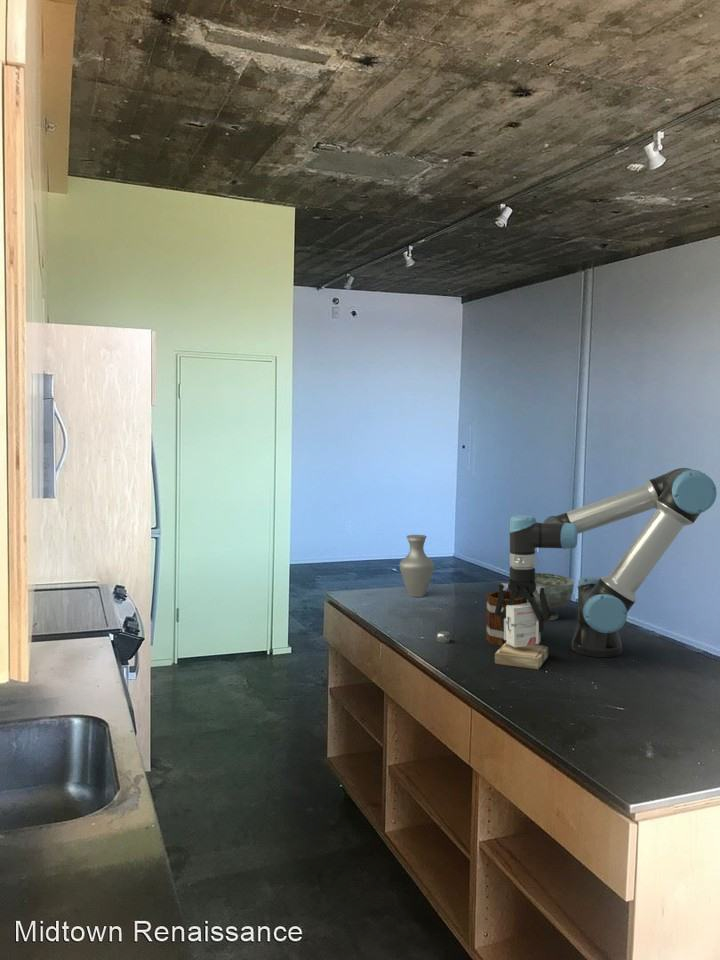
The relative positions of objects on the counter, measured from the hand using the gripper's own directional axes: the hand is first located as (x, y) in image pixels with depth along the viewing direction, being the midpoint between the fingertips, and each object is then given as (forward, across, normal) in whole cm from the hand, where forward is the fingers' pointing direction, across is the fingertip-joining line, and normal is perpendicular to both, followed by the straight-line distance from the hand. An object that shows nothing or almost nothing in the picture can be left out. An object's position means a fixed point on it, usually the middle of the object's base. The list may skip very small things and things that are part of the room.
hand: (522, 640), depth 225 cm
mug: (+6, -10, +21) cm, 24 cm away
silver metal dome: (+6, -28, +8) cm, 30 cm away
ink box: (+1, 0, 0) cm, 1 cm away
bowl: (+6, -4, +52) cm, 53 cm away
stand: (+6, 0, 0) cm, 6 cm away
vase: (+6, -60, +65) cm, 89 cm away
